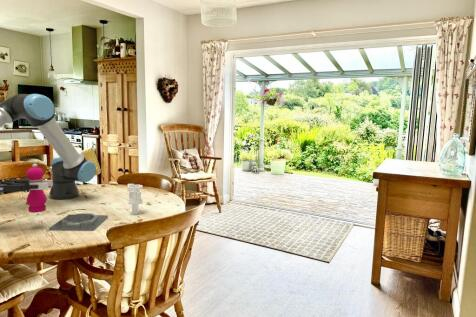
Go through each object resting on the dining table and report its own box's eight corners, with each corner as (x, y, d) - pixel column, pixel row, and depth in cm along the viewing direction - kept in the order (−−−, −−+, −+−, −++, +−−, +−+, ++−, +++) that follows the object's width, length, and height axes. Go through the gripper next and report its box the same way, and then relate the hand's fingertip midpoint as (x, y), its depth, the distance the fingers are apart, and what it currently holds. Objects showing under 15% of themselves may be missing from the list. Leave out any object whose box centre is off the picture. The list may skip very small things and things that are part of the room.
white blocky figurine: (128, 211, 165) (128, 182, 163) (142, 211, 166) (142, 182, 164) (127, 215, 158) (126, 185, 156) (142, 215, 160) (142, 185, 158)
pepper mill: (33, 207, 141) (30, 162, 138) (50, 208, 141) (48, 162, 138) (23, 213, 133) (20, 164, 131) (42, 213, 134) (39, 165, 131)
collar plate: (68, 216, 153) (68, 211, 153) (107, 217, 154) (107, 212, 154) (49, 230, 136) (48, 224, 135) (93, 230, 137) (93, 225, 136)
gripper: (-3, 189, 141) (57, 188, 146) (-26, 200, 123) (43, 198, 129) (-4, 172, 140) (56, 171, 145) (-27, 181, 122) (42, 180, 128)
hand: (49, 184), depth 137 cm, fingers closed on pepper mill, 5 cm apart
